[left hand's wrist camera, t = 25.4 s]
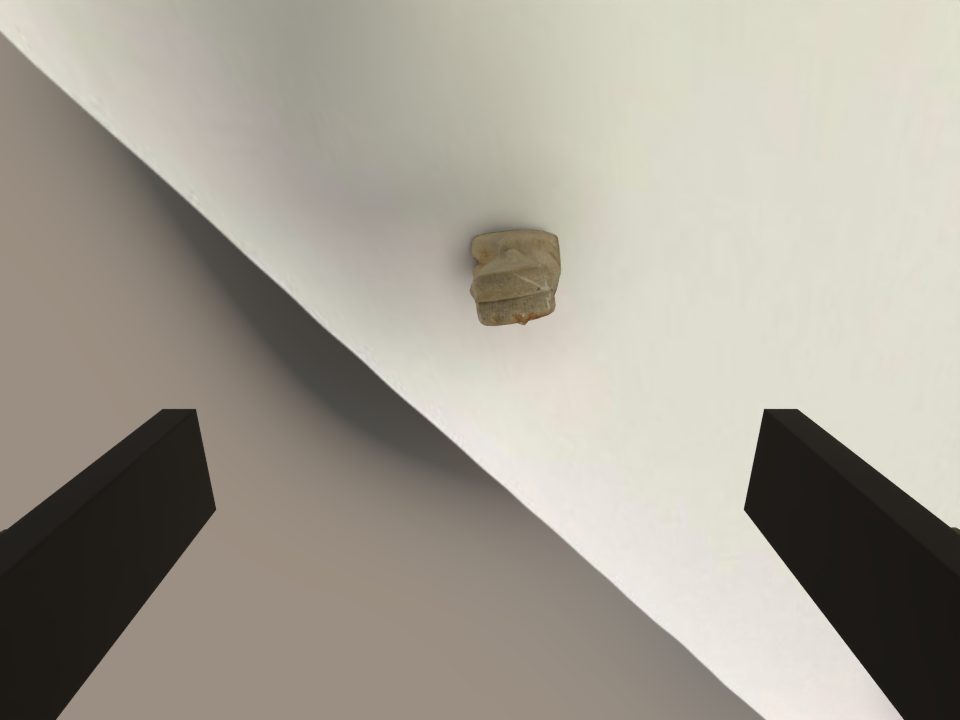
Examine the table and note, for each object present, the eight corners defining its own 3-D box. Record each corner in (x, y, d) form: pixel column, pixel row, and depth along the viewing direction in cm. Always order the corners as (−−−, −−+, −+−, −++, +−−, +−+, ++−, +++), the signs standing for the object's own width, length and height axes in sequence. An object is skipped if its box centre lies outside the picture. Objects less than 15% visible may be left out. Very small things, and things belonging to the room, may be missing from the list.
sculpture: (468, 223, 45) (463, 250, 31) (553, 216, 45) (587, 240, 31) (475, 291, 47) (472, 344, 33) (556, 284, 47) (588, 335, 33)
